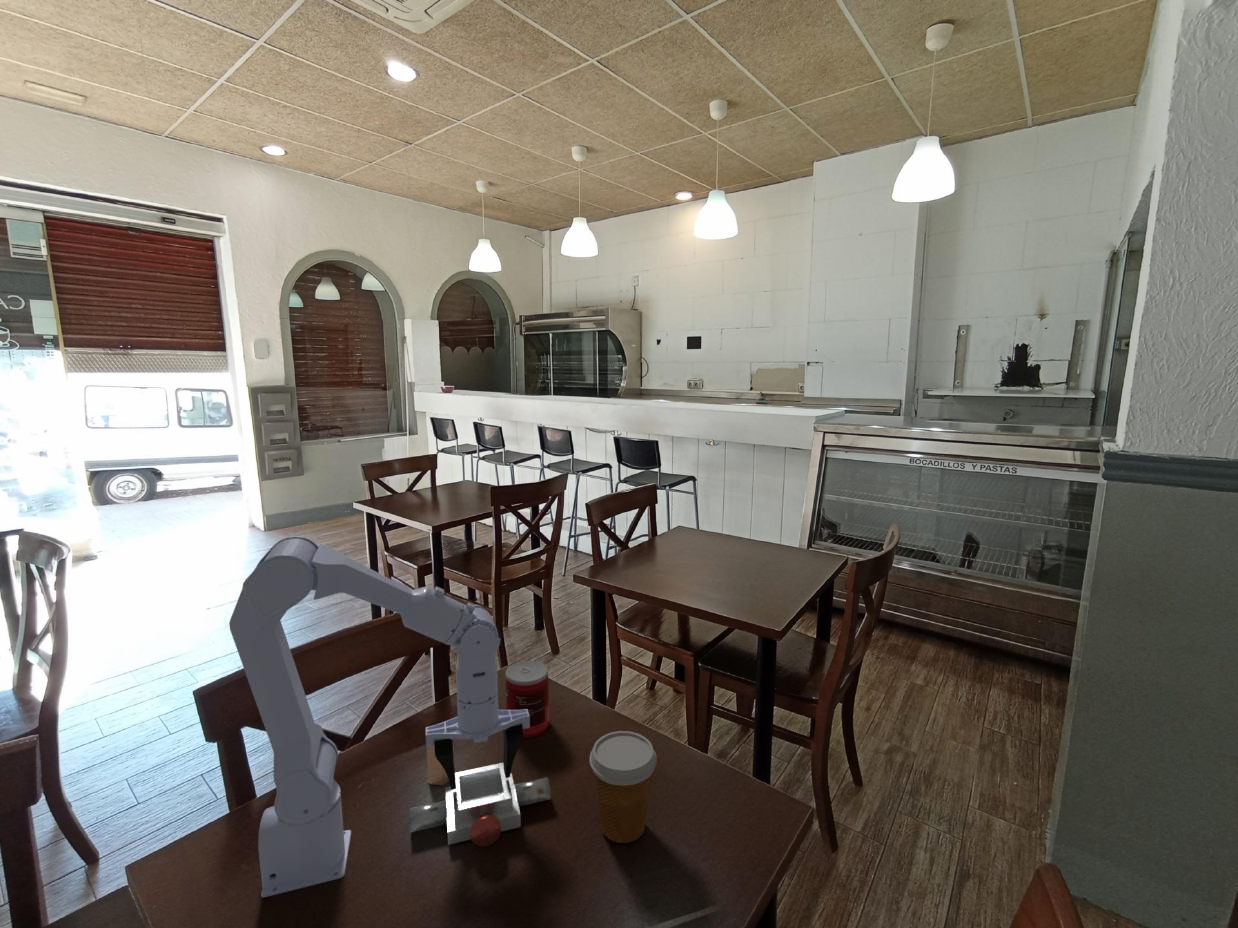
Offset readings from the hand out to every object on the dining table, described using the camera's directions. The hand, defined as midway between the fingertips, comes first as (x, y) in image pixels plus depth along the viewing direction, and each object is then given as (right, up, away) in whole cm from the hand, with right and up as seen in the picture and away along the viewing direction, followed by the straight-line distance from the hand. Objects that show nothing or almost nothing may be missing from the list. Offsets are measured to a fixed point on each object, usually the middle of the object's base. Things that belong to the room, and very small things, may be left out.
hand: (480, 778), depth 83 cm
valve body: (0, -6, 0) cm, 6 cm away
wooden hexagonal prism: (-8, -4, +9) cm, 13 cm away
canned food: (+4, -3, +22) cm, 22 cm away
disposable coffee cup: (+21, -6, -2) cm, 22 cm away
